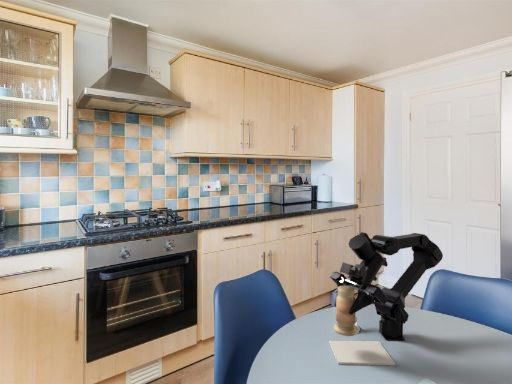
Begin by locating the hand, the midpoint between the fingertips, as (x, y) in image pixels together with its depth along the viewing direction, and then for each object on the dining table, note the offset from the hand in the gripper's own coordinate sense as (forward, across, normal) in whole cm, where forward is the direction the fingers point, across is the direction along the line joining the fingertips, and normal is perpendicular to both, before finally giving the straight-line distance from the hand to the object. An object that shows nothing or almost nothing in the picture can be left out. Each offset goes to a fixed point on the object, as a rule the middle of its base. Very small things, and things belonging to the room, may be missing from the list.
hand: (342, 310), depth 94 cm
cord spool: (+4, 0, +6) cm, 7 cm away
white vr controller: (0, -11, +20) cm, 22 cm away
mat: (+6, +2, +13) cm, 14 cm away
